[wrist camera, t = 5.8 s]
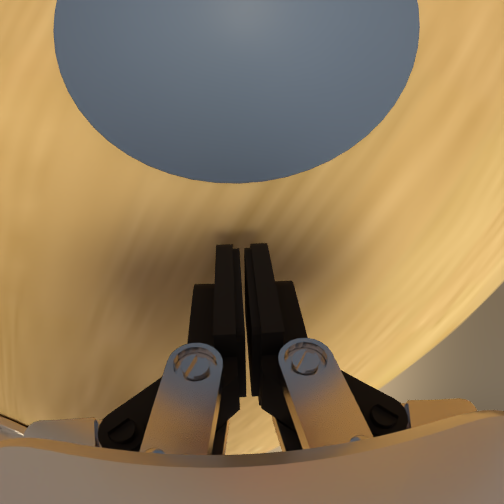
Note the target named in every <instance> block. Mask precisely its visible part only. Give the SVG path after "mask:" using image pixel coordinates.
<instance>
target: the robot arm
mask: <svg viewBox="0 0 504 504" xmlns="http://www.w3.org/2000/svg"><path fill="white" fill-rule="evenodd" d="M244 262H245V317H246V330H247V343H248V356H249V369H250V381H251V393H252V396H258V398H259V405H261V408H262V409H263V410H265V411H266V412H268V413H269V414H271V415H272V420H273V424H274V427H275V430H276V433H277V437H278V440H279V443H280V446H281V449H282V452H274V453H260V454H242V455H225V450H226V443H227V436H228V429H229V419H230V418H231V417H232V416H233V415H234V414H235V413H236V412H237V411H238V410H240V402H239V397H246V360H245V327H244V312H243V298H242V283H241V267H240V252H239V248H238V249H233V244H229V245H216V263H215V284H195V285H194V289H193V297H192V306H191V315H190V325H189V335H188V344H186V345H183V346H181V347H179V348H177V349H176V350H175V351H174V352H173V353H172V354H171V355H170V357H169V359H168V361H167V364H166V367H165V370H164V373H163V376H162V377H161V378H160V379H158V380H157V381H156V382H154V383H153V384H151V385H150V386H149V387H147V388H146V389H144V390H143V391H141V392H140V393H139V394H137V395H136V396H134V397H133V398H131V399H130V400H128V401H127V402H126V403H124V404H123V405H121V406H120V407H118V408H117V409H115V410H114V411H112V412H111V413H109V414H108V415H107V416H106V417H105V418H104V419H102V420H96V419H95V418H94V417H91V418H79V419H64V420H43V421H37V422H33V423H32V424H31V425H29V426H28V427H25V426H23V425H20V424H18V423H16V422H14V421H12V420H9V419H7V418H4V417H1V416H0V504H504V411H500V410H482V411H477V410H476V407H475V406H474V405H473V404H472V403H471V402H470V401H468V400H466V399H460V398H457V399H441V400H408V401H407V403H402V404H401V403H400V402H398V401H397V400H395V399H394V398H392V397H390V396H388V395H386V394H384V393H382V392H380V391H379V390H377V389H375V388H373V387H371V386H369V385H367V384H365V383H364V382H362V381H360V380H358V379H356V378H354V377H352V376H351V375H349V374H347V373H345V372H343V371H342V370H340V368H339V366H338V364H337V362H336V360H335V358H334V356H333V354H332V352H331V351H330V350H329V348H328V347H327V346H326V345H324V344H323V343H322V342H320V341H317V340H315V339H310V338H307V334H306V330H305V326H304V322H303V318H302V314H301V311H300V307H299V303H298V299H297V295H296V292H295V288H294V284H293V282H292V281H275V280H274V274H273V269H272V265H271V260H270V255H269V250H268V245H267V243H259V244H251V246H250V248H244Z"/></svg>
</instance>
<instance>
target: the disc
mask: <svg viewBox="0 0 504 504" xmlns="http://www.w3.org/2000/svg"><path fill="white" fill-rule="evenodd" d="M419 28H420V27H419V9H418V3H417V0H57V3H56V8H55V17H54V43H55V53H56V57H57V61H58V65H59V69H60V73H61V75H62V78H63V80H64V83H65V85H66V87H67V90H68V92H69V94H70V95H71V97H72V99H73V100H74V102H75V104H76V105H77V107H78V109H79V110H80V111H81V113H82V114H83V115H84V116H85V118H86V119H87V120H88V121H89V122H90V124H91V125H92V126H93V127H94V128H95V129H96V130H97V131H98V132H99V133H100V134H101V135H103V136H104V137H105V138H106V139H107V140H108V141H109V142H110V143H112V144H113V145H115V146H116V147H117V148H119V149H120V150H122V151H123V152H125V153H126V154H127V155H129V156H131V157H133V158H135V159H137V160H139V161H141V162H142V163H144V164H146V165H148V166H151V167H154V168H156V169H159V170H161V171H164V172H167V173H169V174H173V175H177V176H181V177H185V178H189V179H193V180H200V181H207V182H214V183H249V182H262V181H268V180H273V179H278V178H283V177H288V176H291V175H294V174H297V173H300V172H304V171H307V170H310V169H312V168H314V167H316V166H319V165H321V164H323V163H325V162H328V161H330V160H332V159H333V158H335V157H337V156H338V155H340V154H342V153H344V152H345V151H347V150H349V149H350V148H351V147H353V146H354V145H355V144H357V143H358V142H359V141H361V140H362V139H363V138H364V137H366V136H367V135H368V134H369V133H370V132H371V131H372V130H373V129H374V128H375V127H376V126H377V125H378V124H379V123H380V122H381V121H382V120H383V119H384V117H385V116H386V115H387V114H388V112H389V111H390V110H391V108H392V107H393V106H394V105H395V103H396V101H397V100H398V98H399V96H400V94H401V93H402V91H403V89H404V87H405V86H406V83H407V81H408V78H409V76H410V73H411V71H412V68H413V65H414V61H415V57H416V53H417V48H418V39H419Z"/></svg>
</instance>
